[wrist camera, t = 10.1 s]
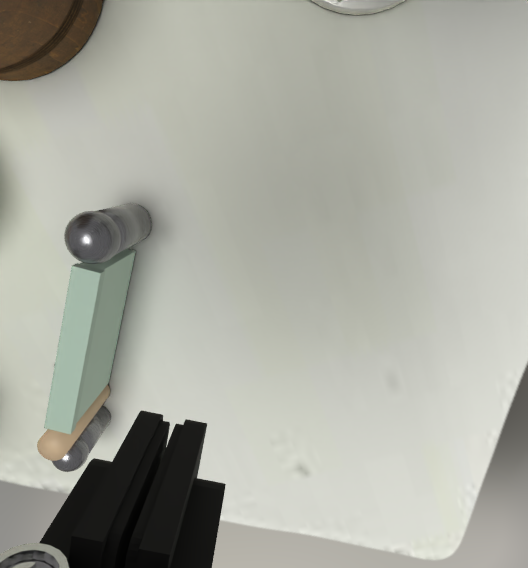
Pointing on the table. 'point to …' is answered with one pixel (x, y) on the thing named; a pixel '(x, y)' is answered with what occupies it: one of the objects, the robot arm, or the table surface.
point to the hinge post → (106, 232)
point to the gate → (85, 350)
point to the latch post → (84, 442)
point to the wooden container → (42, 34)
